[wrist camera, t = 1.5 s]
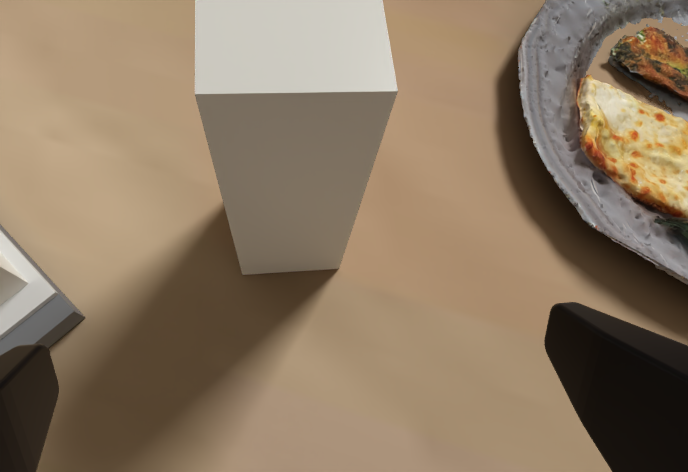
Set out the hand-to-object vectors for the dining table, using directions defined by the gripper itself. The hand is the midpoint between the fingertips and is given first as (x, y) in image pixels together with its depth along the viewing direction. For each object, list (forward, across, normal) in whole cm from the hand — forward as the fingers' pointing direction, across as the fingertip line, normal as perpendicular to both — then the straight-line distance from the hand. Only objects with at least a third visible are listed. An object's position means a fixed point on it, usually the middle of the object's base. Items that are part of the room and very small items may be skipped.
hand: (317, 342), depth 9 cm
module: (+14, 0, +4) cm, 15 cm away
